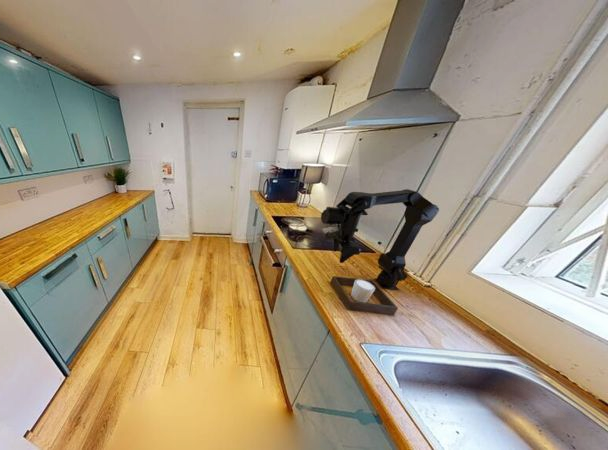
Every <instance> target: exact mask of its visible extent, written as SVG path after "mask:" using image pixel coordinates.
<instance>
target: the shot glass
mask: <svg viewBox="0 0 608 450" xmlns="http://www.w3.org/2000/svg"><path fill="white" fill-rule="evenodd" d="M356 279H357V280H355V282H354V285H353V286H352V288H351V289H352V290H351V294H350V297H351V298H352V299H353V300H354V301H356V302H364V303H368V301H369V300H370V298H371V296H373V292H374V290H375V287H374V286H373V285H372V284H371V283H369V282H367V281H365V280H361V279H362V278H356Z"/></svg>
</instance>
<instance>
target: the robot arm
mask: <svg viewBox="0 0 608 450" xmlns="http://www.w3.org/2000/svg"><path fill="white" fill-rule="evenodd" d="M390 204H391V205H392V204H403V205H404V207H405V210H404V219H405V222H403V225H402V227H401V228H400V231H399V233H398V235H397V236H396V238H395V241H394V242H393V243H392V245H391V248H390V250H389V251H387V252H385V253H383V252H381V253H380V255H379V257H378V259H377V265H378V268H379V269H380V270H381V271H379V272H380V273H378V275H377V277H374V278H373V281H374V282H375V283H376V284H377V285H379V286H380V287H381V289H384V290H392V291H393V290H395V291H399V288H398V287H397V286H398V284H399V282H402V281H405V280H407V278H408V276H409V275H407V273H406V272H405V268H406V264H407V263H406V255H407V253H408V252H409V250H410V248H411V247H412V245H413V243H414V241H415V239H416V238H417V236H418V234H419V233H420V231H421V230H422V228H423V226H425V225H427V224H429V223H431V222H432V221H433V220H434V218H436V216H437V215H439V211H440V208H439V207H438V205H436V204H434V203H432V202H431V201H429V200H428V199H427V198H425V197H423V195H422V194H421V193H420V192H418V191H416V190H412V189H408V188H405V189H402V190H393V191H383V192H376V193H372V192H371V193H369V192H364V191H351V192H349V193H348V194H347V195H346V196H345V197H344V198H343V199H342V200H341V201H340V202H339V203H337V204H336V206H334V207H332V206H326V208H325V209H324V210H323V211H322V212H321V215H320V220H321V223H322V224H323V225H336V226H329V227H323V228H321V234H322V237H323V239H324V240H326V241H327V240H332V252H337V251H338V250H339V252H340V255H339V260H338V262H339V264H343V263H345V262H346V261H347V260H348V259H350V258H351V257H353V256H355V255H356V256H357V255H360V254H361V251H362V250H361V248H360V247H359V246H358V244H357V243H356V242H355V237H354V236H355V234H356V233H358V232H359V229H358V225H359V223H360V219H361V217H362V216H368V214H369V213H368V212H367V211H366V210H368V209H371V208H373V207H375V206H380V205H381V206H382V205H390Z"/></svg>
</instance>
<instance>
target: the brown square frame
mask: <svg viewBox="0 0 608 450" xmlns="http://www.w3.org/2000/svg"><path fill="white" fill-rule="evenodd" d="M357 279H358V278H355V277H346V276H336V275H332V277H331V279H330V282H329V284H330V285H331V287H332V288H333V290H334V292H335V293H336V295H337V296H338V298H339V300H340V301H341V303H342V305H343V306H344V307H345V310H346V311H354V312H361V313H362V312H363V313H370V314H376V315H377V314H378V315H384V316H385V315H387V316H393V317H394V316H395V314H396V312H397V311H398V309H399V307H398V305H396V304H395V303H394V301H392V300H391V298H390V297H389V296H388V295H387V294H386V293H385V292H384V291H383V290H382V288H380V287H379V286H378V284H377V283H376V281H375V280H374V279H365V278H360V279H361V280H365V281H367V282H369V283H371V284H372V285H373V286H374V287H375V290H374V292H373V293H372V295H373V296H374V297H375V298H376V299H377V300H378V302H379V303H372V302H366V303H364V302H358V301H356V300H351V298H350V297H349V295H348V294H347V292H346V291H345V289H344V288H343V286H346V287H353V285H354V282H355V280H357Z"/></svg>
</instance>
